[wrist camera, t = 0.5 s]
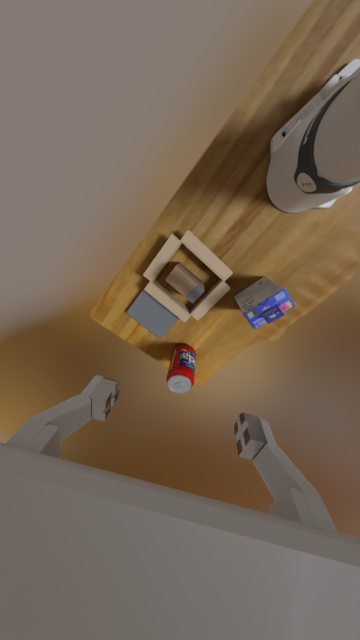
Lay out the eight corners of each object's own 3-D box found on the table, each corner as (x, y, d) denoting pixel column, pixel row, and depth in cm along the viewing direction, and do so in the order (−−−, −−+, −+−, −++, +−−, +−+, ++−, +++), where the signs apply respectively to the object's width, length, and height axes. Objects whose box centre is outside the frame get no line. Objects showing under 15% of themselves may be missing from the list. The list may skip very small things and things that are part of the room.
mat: (147, 284, 49) (146, 284, 49) (183, 313, 52) (182, 314, 51) (127, 311, 54) (126, 312, 53) (160, 337, 57) (160, 338, 56)
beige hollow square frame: (181, 223, 42) (180, 221, 39) (237, 276, 45) (240, 279, 42) (140, 281, 49) (136, 283, 46) (191, 322, 53) (190, 327, 50)
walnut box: (180, 262, 46) (176, 265, 38) (204, 283, 47) (204, 291, 40) (170, 274, 47) (164, 280, 40) (194, 294, 49) (192, 303, 42)
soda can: (169, 349, 58) (159, 380, 45) (187, 339, 56) (182, 369, 42) (182, 364, 61) (176, 398, 47) (200, 355, 58) (199, 389, 44)
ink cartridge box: (242, 311, 49) (256, 335, 36) (232, 297, 48) (243, 316, 35) (274, 291, 46) (302, 310, 33) (264, 275, 45) (290, 288, 32)
